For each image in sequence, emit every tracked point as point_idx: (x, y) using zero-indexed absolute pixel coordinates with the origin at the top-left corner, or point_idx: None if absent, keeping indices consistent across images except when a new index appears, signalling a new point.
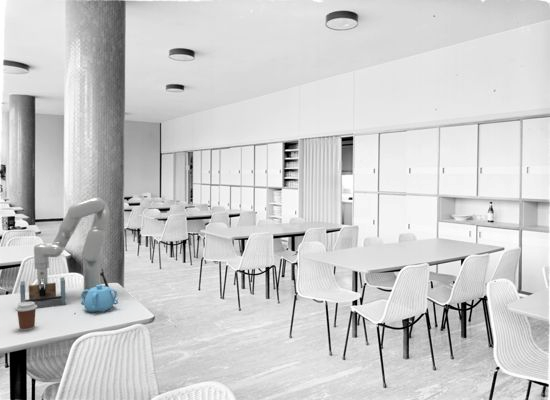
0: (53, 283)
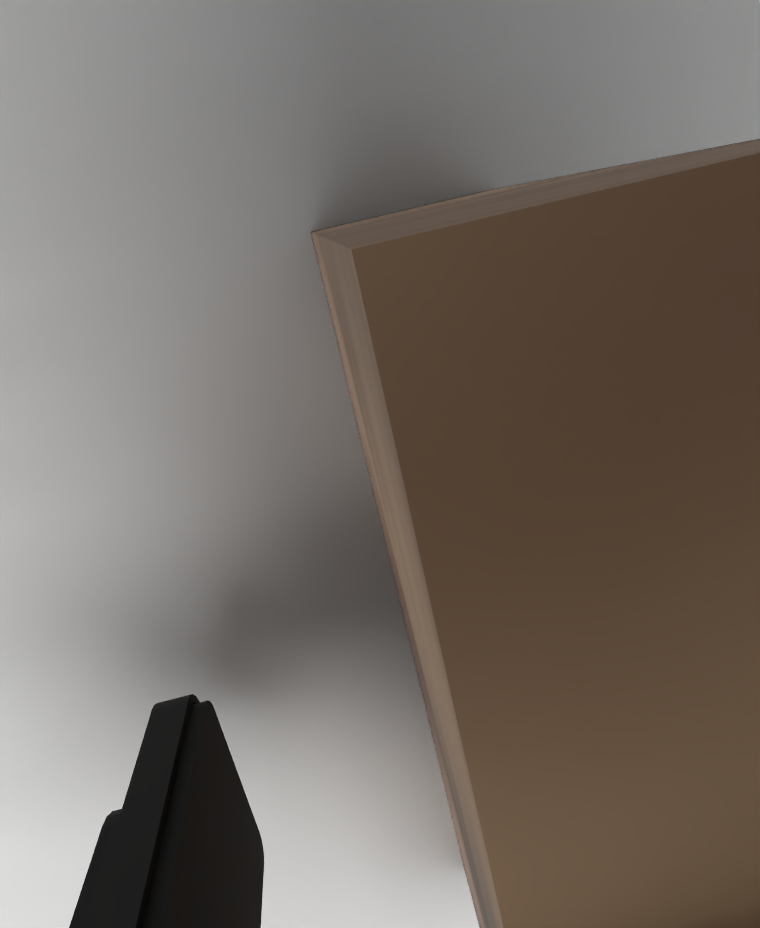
0: (754, 411)
